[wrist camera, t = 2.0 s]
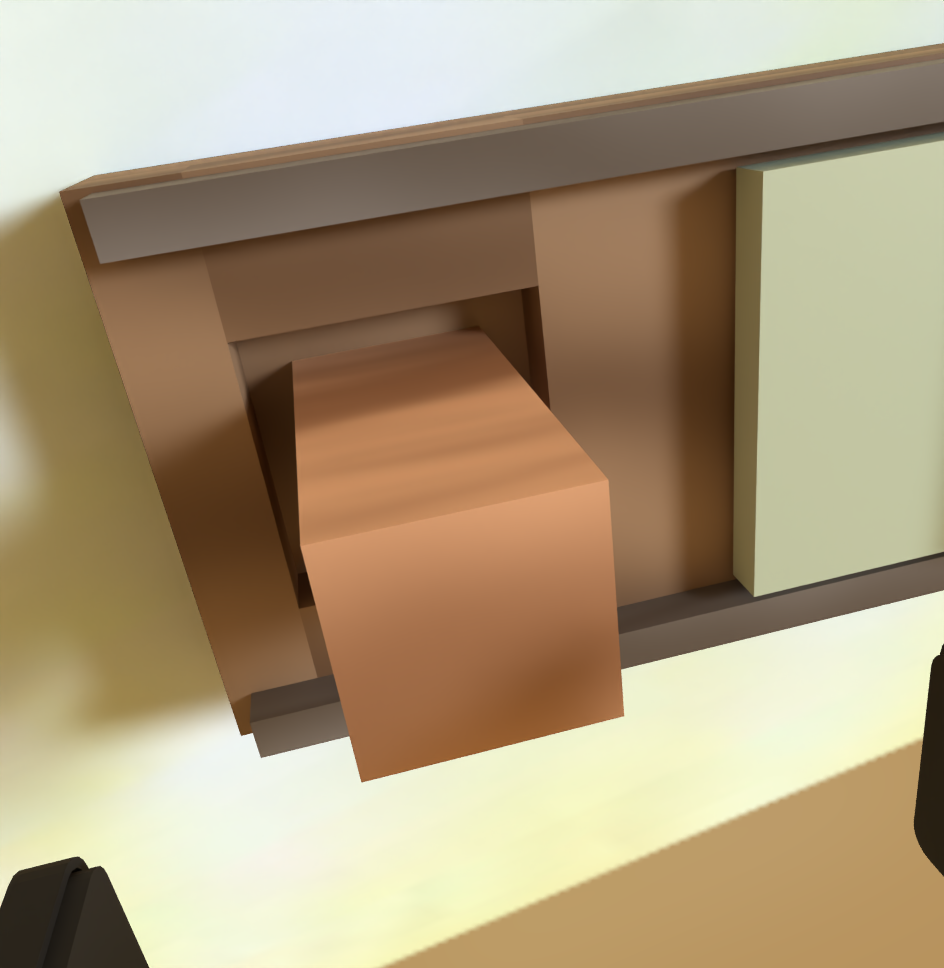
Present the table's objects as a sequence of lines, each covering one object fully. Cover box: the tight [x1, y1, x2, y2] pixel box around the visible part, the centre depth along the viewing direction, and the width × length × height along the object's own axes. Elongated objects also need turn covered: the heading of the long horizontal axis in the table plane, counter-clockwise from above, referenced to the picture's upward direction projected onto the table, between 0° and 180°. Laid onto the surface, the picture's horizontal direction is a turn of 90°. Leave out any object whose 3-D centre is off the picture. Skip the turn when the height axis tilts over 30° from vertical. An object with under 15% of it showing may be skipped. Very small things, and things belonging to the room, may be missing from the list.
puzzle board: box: [59, 43, 944, 758], centre depth 19 cm, size 12×22×4 cm, turn 98°
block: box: [292, 326, 624, 782], centre depth 15 cm, size 4×4×8 cm
